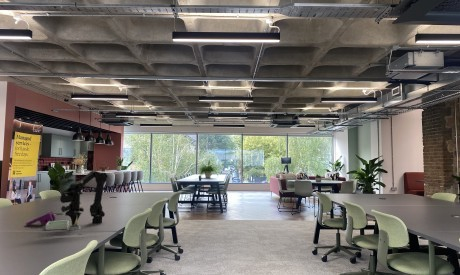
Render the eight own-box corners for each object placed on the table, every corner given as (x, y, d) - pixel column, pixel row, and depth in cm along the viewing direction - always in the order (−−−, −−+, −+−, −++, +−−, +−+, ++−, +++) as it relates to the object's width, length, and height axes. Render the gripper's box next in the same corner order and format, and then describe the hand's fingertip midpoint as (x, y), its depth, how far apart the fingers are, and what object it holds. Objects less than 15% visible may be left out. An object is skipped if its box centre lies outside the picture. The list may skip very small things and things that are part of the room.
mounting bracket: (28, 234, 234) (53, 223, 239) (23, 224, 234) (48, 213, 238) (33, 232, 243) (57, 220, 248) (28, 222, 243) (52, 211, 248)
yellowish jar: (72, 227, 224) (72, 214, 225) (77, 227, 225) (78, 214, 225) (70, 228, 221) (71, 215, 221) (76, 228, 221) (76, 214, 222)
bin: (68, 227, 234) (68, 220, 234) (67, 230, 222) (67, 223, 222) (48, 228, 229) (48, 221, 229) (45, 232, 217) (45, 224, 217)
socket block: (80, 228, 228) (80, 224, 228) (80, 231, 220) (80, 226, 221) (68, 229, 225) (68, 225, 225) (67, 232, 217) (67, 227, 218)
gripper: (68, 199, 232) (67, 221, 231) (57, 203, 214) (56, 226, 213) (84, 199, 234) (83, 221, 233) (75, 203, 215) (74, 226, 214)
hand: (74, 223), depth 223 cm, fingers closed on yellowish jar, 4 cm apart
